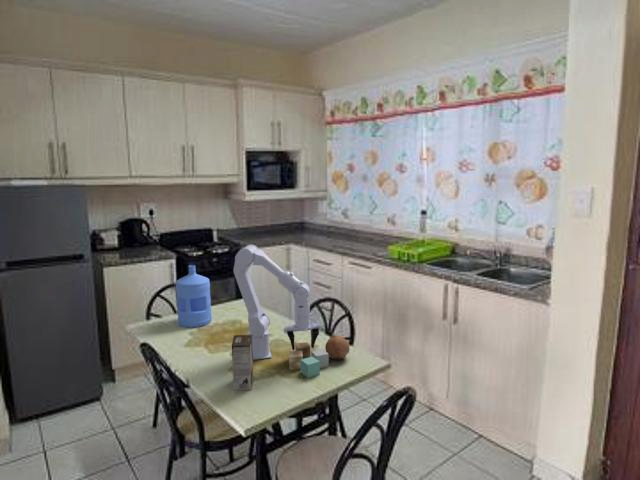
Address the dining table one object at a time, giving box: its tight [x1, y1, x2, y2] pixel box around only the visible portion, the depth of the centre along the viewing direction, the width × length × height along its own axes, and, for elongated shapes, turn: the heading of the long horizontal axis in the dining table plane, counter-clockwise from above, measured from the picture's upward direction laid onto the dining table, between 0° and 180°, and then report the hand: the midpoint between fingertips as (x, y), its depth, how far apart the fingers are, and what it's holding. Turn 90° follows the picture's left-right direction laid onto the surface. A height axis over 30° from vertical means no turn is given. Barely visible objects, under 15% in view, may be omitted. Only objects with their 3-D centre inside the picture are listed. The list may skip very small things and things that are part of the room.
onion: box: [324, 334, 350, 361], centre depth 171 cm, size 10×9×10 cm
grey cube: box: [310, 348, 330, 369], centre depth 165 cm, size 5×5×5 cm
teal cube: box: [300, 356, 321, 379], centre depth 159 cm, size 5×5×5 cm
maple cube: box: [288, 350, 303, 370], centre depth 164 cm, size 5×5×5 cm
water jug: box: [175, 264, 212, 328], centre depth 209 cm, size 16×16×28 cm
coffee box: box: [231, 334, 254, 391], centre depth 150 cm, size 9×6×16 cm
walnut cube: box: [294, 342, 311, 359], centre depth 172 cm, size 5×5×5 cm
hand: (302, 348), depth 172 cm, fingers open, 7 cm apart
